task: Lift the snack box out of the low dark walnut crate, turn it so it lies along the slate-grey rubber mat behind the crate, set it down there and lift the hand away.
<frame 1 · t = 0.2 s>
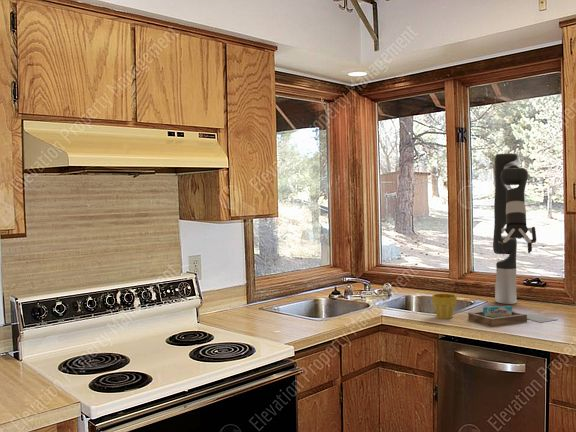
hand: (517, 252, 221), 31 cm above the countertop, tool tilted 20°, fingers open, 8 cm apart
plant pot: (444, 317, 246), on the countertop
walnut crate: (497, 320, 237), on the countertop
snack box: (497, 321, 237), resting in walnut crate
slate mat: (536, 318, 240), on the countertop
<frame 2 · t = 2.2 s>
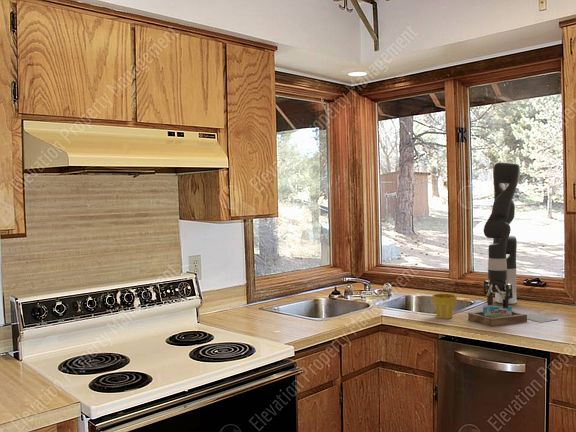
hand: (497, 306, 236), 6 cm above the countertop, tool pointing down, fingers open, 8 cm apart
nothing on the countertop moved.
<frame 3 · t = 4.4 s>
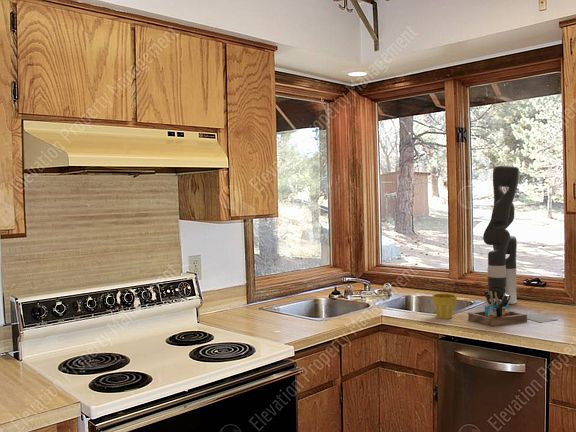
hand: (497, 315, 237), 2 cm above the countertop, tool pointing down, fingers closed on snack box, 1 cm apart
snack box: (497, 320, 237), resting in walnut crate, touching gripper
everything else where it was.
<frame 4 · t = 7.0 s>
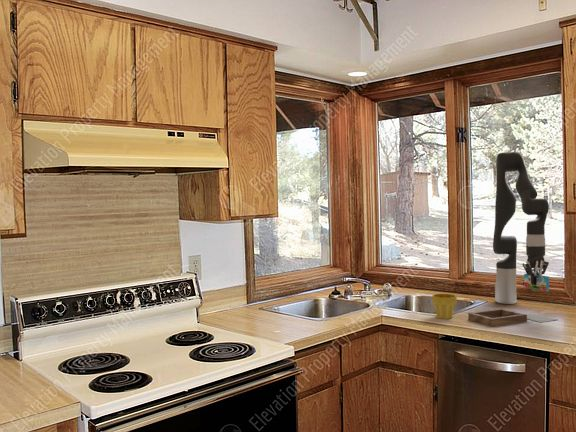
hand: (535, 284, 240), 15 cm above the countertop, tool pointing down, fingers closed on snack box, 1 cm apart
snack box: (536, 289, 240), point 12 cm above the countertop, touching gripper
everything else where it was.
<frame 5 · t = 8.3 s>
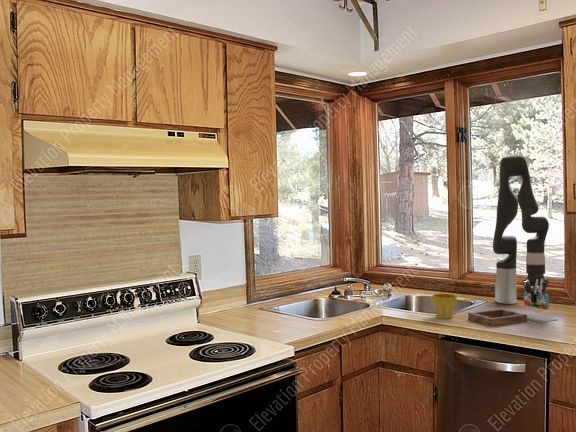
hand: (535, 302, 240), 7 cm above the countertop, tool pointing down, fingers closed on snack box, 1 cm apart
snack box: (536, 307, 240), point 5 cm above the countertop, touching gripper
everything else where it was.
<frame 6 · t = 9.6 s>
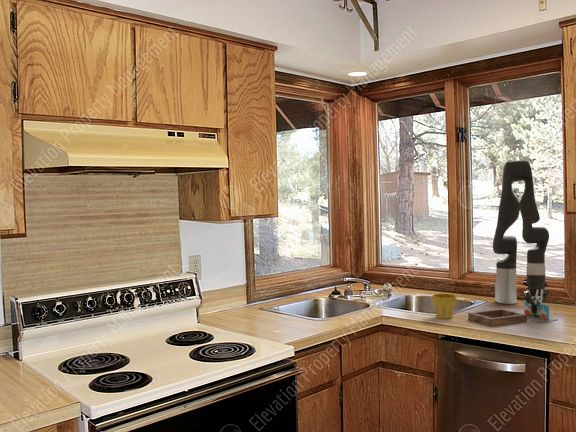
hand: (536, 312, 240), 2 cm above the countertop, tool pointing down, fingers closed on snack box, 1 cm apart
snack box: (536, 318, 240), resting on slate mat, touching gripper
everything else where it was.
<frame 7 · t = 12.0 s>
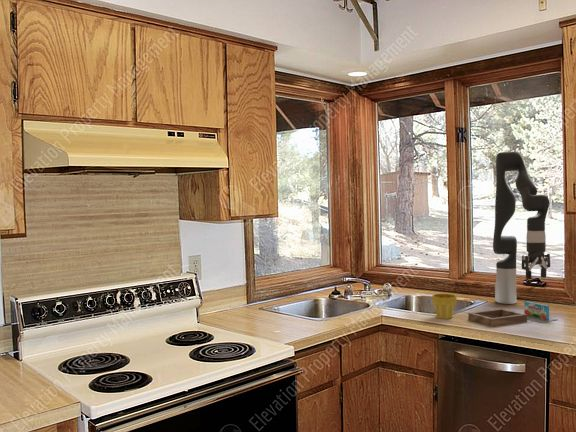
hand: (536, 278, 240), 17 cm above the countertop, tool pointing down, fingers open, 8 cm apart
snack box: (536, 318, 240), resting on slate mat
everything else where it was.
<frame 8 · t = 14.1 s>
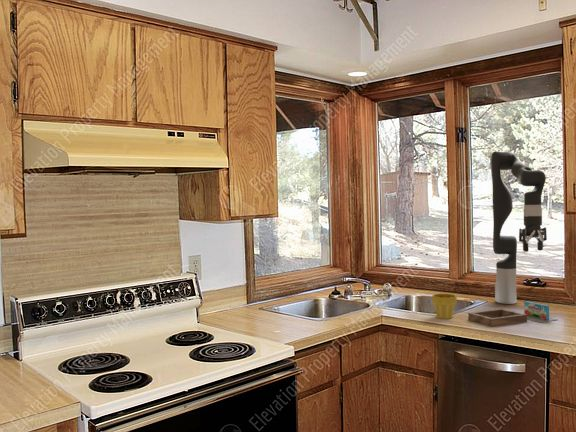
hand: (532, 250, 249), 28 cm above the countertop, tool pointing down, fingers open, 8 cm apart
nothing on the countertop moved.
at the end: snack box inside the target area (0.2 cm from its centre), resting on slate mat; the gripper is holding nothing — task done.
